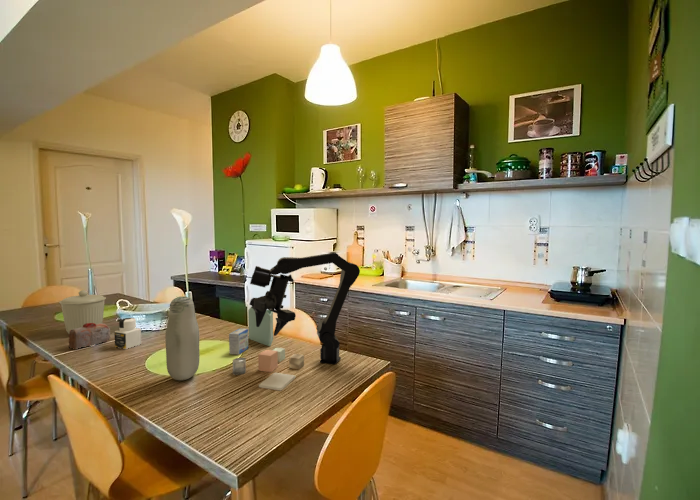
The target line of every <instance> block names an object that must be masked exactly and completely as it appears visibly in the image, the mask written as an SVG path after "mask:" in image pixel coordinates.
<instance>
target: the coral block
mask: <svg viewBox="0 0 700 500" xmlns="http://www.w3.org/2000/svg"><path fill="white" fill-rule="evenodd" d="M257 358H258V359H257V360H258V361H257V363H258V364H257V366H258V369H257V370H258V371H260V372H266V373H272V372H273V371H274V370H275V369H277V368H278V366H279V365H278V363H279V362H278V351H273V349H264V350H263V351H261V352H259V353H258V354H257Z"/></svg>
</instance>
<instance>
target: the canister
mask: <svg viewBox="0 0 700 500" xmlns="http://www.w3.org/2000/svg"><path fill="white" fill-rule="evenodd" d="M88 293H89V292H88V291H87V290H85V289H82V290H79V292H78V295H73V296H69V297H66V298H63V299H62V300H60V301H59V302H58V303H59V304H60V305H61V312H62V317H63V322H64V326H65V331H66V333H67V334H68V335H69V332H70V330H71V329H76V328H80V327H83V325H84V324H86V323H95V324H101V323H104V322H103V321H104V310H105V302H106V301H105V300H106V299H107V297H106V296H104V295H102V294H88Z"/></svg>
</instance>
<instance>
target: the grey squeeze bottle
mask: <svg viewBox="0 0 700 500" xmlns="http://www.w3.org/2000/svg"><path fill="white" fill-rule="evenodd" d="M168 309H169V310H168V320H167V324H166V329H165V339H164V340H165V354H166V355H165V357H166V358H165V359H166V360H165V362H166V371H167V373H168V375H169V376H170V377H171V378H172V379H174V380H175V381H185V380H189V379H190V378H192V377H194V376H195V374H196V373H197V371H198V370H199V366H200V328H199V327H200V326H199V324H198V320H197V316H196V310H195V303H194V301H193V299H191V298H190V297H189V296H178V297H175V298H173V299H172V300H171V302H170V304H169V307H168Z"/></svg>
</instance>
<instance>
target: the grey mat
mask: <svg viewBox="0 0 700 500" xmlns="http://www.w3.org/2000/svg"><path fill="white" fill-rule="evenodd" d="M295 379H296V375H294V374H288V373H281V372H274V373H272V374H270V375H269V376H268V377H266V379H264V380H263V381H261V382H260V383H258V388H263V389H267V390H275V391H283V389H285V388H286V387H287V386H288V385H290V383H291V382H293V381H294V380H295Z"/></svg>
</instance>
